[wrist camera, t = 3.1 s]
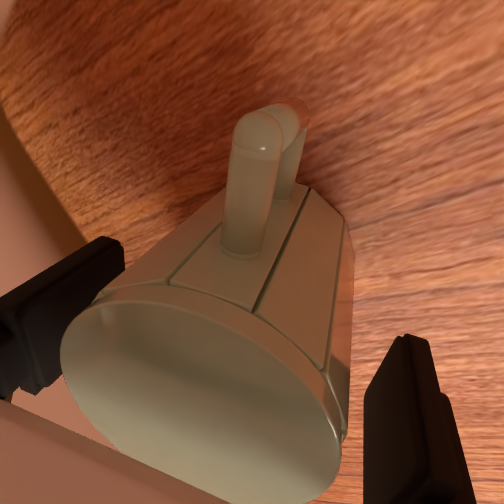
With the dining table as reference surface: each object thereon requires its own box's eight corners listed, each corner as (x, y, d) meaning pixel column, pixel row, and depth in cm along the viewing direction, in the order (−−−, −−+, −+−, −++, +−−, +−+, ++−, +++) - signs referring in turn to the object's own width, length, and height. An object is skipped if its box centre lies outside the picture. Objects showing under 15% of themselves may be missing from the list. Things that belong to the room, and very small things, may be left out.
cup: (195, 291, 16) (78, 442, 10) (212, 74, 11) (-14, 78, 4) (326, 334, 15) (296, 541, 8) (413, 115, 10) (515, 203, 3)
